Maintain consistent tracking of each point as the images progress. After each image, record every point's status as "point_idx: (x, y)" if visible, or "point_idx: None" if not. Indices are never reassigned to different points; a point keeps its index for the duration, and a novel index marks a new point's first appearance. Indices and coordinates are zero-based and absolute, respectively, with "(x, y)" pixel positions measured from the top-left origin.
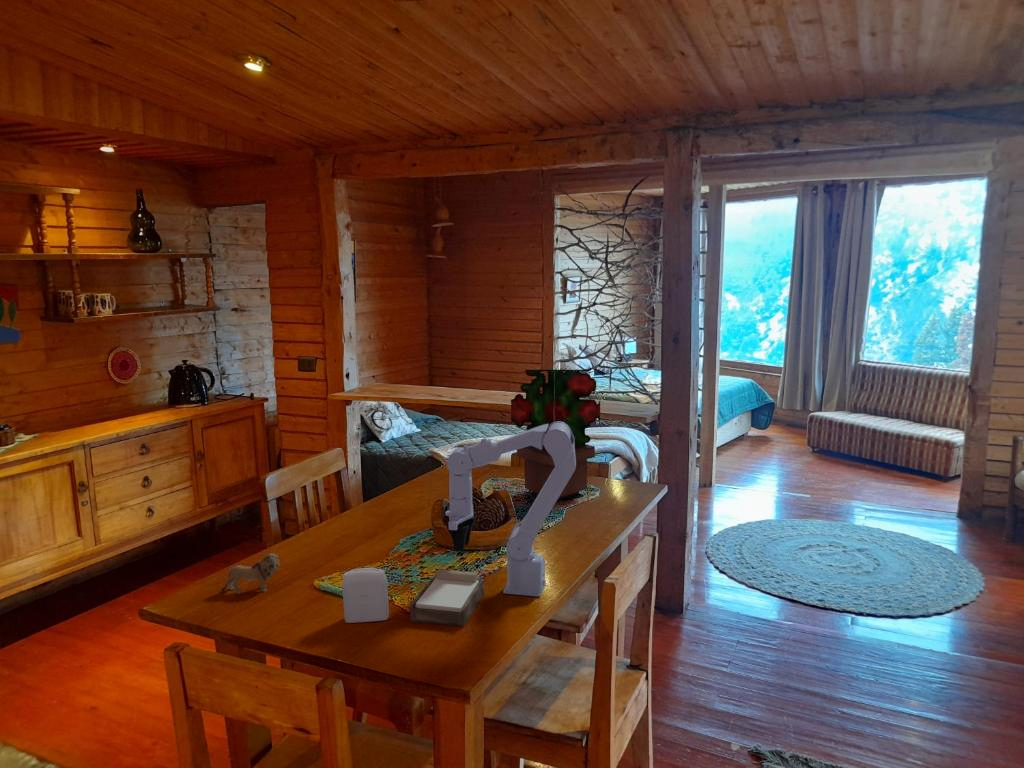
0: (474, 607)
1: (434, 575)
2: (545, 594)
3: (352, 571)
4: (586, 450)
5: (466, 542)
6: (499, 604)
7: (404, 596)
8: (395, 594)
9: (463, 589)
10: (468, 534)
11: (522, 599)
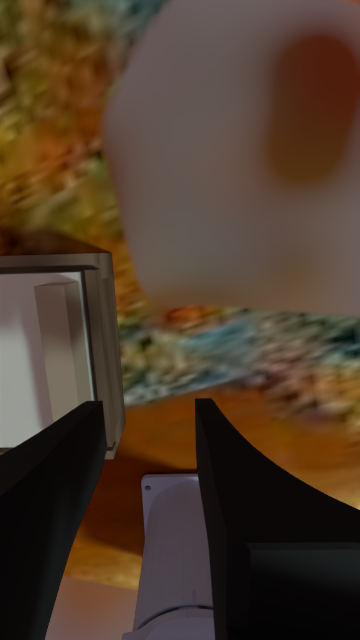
0: None
1: (87, 255)
2: None
3: None
4: None
5: (196, 452)
6: None
7: (23, 154)
8: (26, 107)
9: (4, 415)
10: (206, 518)
11: (125, 525)
